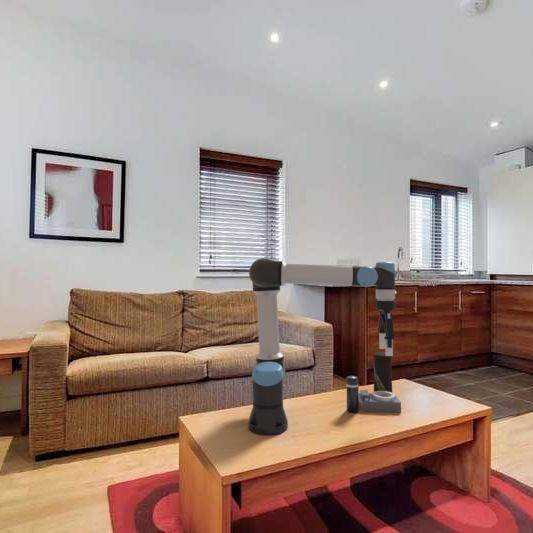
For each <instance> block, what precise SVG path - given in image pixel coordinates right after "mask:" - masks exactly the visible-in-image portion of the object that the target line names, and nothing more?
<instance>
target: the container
mask: <svg viewBox="0 0 533 533" xmlns="http://www.w3.org/2000/svg"><path fill="white" fill-rule="evenodd" d="M372 357H373V392H374V391H387V392H391V393H393V377H392V376H393V375H392V370H393V369H392V358H393V356H385V352H382V351H380V352H374V353H373V354H372Z"/></svg>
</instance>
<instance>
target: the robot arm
mask: <svg viewBox="0 0 533 533" xmlns="http://www.w3.org/2000/svg"><path fill="white" fill-rule="evenodd" d="M395 266H396V265H395V264H394V262H393V261H383V262H382V261H381V262H380V261H376V263H375V265H374V266H370V265H369V266H368V265H364V266H360V265H359V266H358V265H354V266H353V265H330V264H329V265H328V264H327V265H326V264H303V263H302V264H301V263H300V264H299V263H297V264H296V263H286V262H285V261H283V260H274V259H269V258H265V257H264V258H263V257H262V258H259V259H256V260H254V262H252V263H251V265H250V266H249V270H248V274H249V275H248V276H249V279H250V281H251V282H252V284H251V285H252V292H253V293H254V294H255V295H256V296H255V297H256V305H257V306H256V308H257V310H256V311H257V329H258V348H259V350H258V351H259V352H258V353H257V355H256V356H255V358H256V359H255V362H256V364H255V365H254V366H253V367H252V373H251V378H252V408H251V412H250V415H249V419H248V423H247V425H248V427H247V429H248V430H249V431H251V432H252V433H254V434H257V435H263V436H265V435H266V436H272V435H278V434H283V433H284V432H285V431H287V430H288V427H289V423H288V417H287V414H286V411H285V408H284V381H285V377H286V367H285V359H284V358H285V356H284V353H282V352H281V351H280V350H281V349H280V333H279V331H280V328H279V314H278V313H279V309H278V294H279V292H281V287H283V286H284V285H286V284H291V285H292V284H293V285H317V286H318V285H319V286H320V285H321V286H343V287H344V286H348V287H350V286H351V287H365V288H370V287H372V286H375V299H377V300H376V301H375V309H376V310H378V311H379V319H378V329H377V330H378V333H379V334H378V338H379V339H378V340H379V341H378V345H379V346H378V348H379V350H385V356H392V357H393V356H394V339H395V332H394V331H395V330H394V322H393V313H391V311H394V310H395V309H396V301H395V299H396V295H397V291H396V268H395Z"/></svg>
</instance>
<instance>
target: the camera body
mask: <svg viewBox="0 0 533 533" xmlns="http://www.w3.org/2000/svg"><path fill="white" fill-rule="evenodd" d="M359 391H360V392H359V407H360V409H361V411H363V412H383V413H384V412H390V413H391V412H392V413H402V402H401V401H400V399H399V397H398V396H397V395H396V394H395V393H393V392H392V393H391V392H387V391H374V390H373V392H370V393H369V391H368V390H367V389H360V390H359Z"/></svg>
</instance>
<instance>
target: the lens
mask: <svg viewBox="0 0 533 533" xmlns="http://www.w3.org/2000/svg"><path fill="white" fill-rule="evenodd" d="M345 378H346V384H345V387H346V389H345V391H346V412H347V413H351V414H357V413H359V411H360V409H359V408H360V404H359V393H360V392H359V391H360V390H359V385H360V384H359V377H358V376H355V375H348V376H346V377H345Z"/></svg>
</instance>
